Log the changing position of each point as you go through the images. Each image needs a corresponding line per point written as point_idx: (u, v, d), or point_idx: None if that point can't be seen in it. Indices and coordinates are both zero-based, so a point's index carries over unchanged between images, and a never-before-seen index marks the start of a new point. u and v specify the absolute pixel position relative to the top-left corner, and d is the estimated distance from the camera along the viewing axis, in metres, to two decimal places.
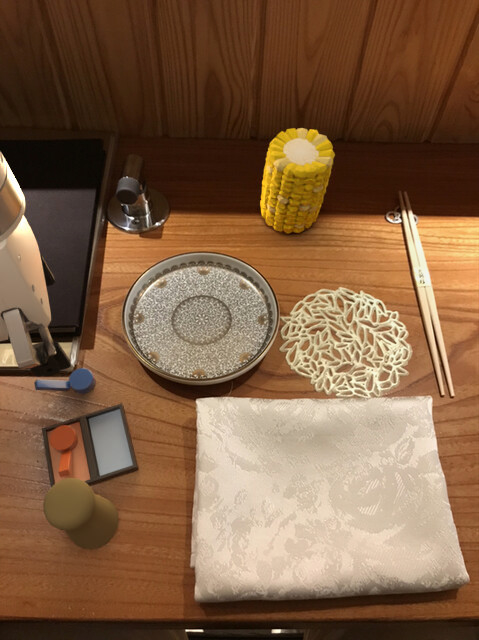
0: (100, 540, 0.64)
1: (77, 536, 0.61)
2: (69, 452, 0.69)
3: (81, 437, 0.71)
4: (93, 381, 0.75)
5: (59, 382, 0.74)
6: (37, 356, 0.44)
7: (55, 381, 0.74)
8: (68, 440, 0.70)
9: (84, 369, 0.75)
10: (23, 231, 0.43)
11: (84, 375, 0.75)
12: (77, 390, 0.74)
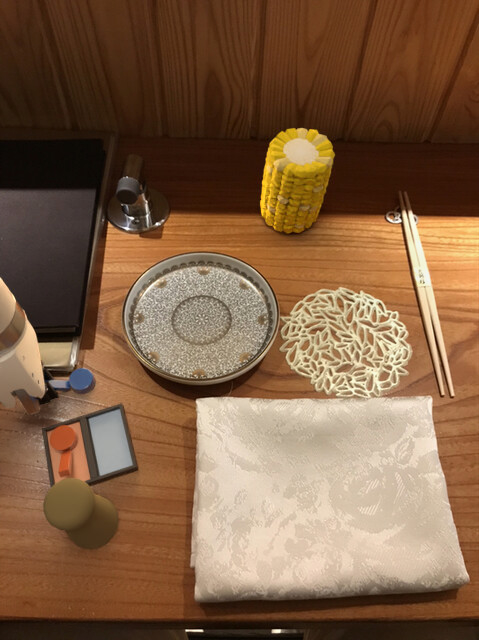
0: (100, 540, 0.64)
1: (77, 536, 0.61)
2: (69, 452, 0.69)
3: (81, 437, 0.71)
4: (93, 381, 0.75)
5: (59, 382, 0.74)
6: (37, 400, 0.67)
7: (55, 381, 0.74)
8: (68, 440, 0.70)
9: (84, 369, 0.75)
10: (26, 335, 0.63)
11: (84, 375, 0.75)
12: (77, 390, 0.74)
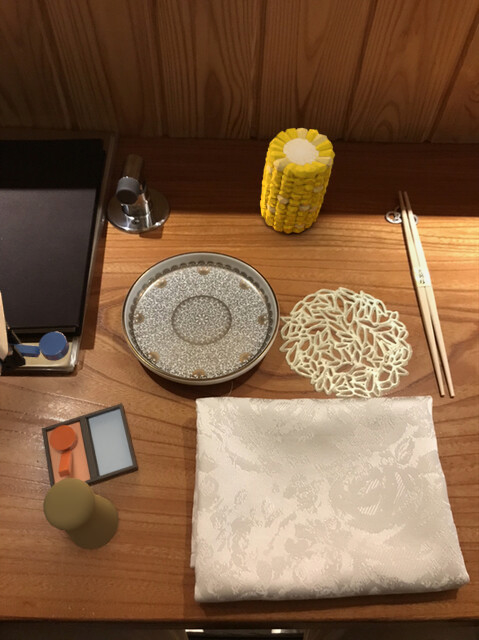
0: (100, 540, 0.64)
1: (77, 536, 0.61)
2: (69, 452, 0.69)
3: (81, 437, 0.71)
4: (66, 346, 0.66)
5: (27, 347, 0.65)
6: None
7: (23, 345, 0.65)
8: (68, 440, 0.70)
9: (56, 333, 0.66)
10: None
11: (56, 339, 0.66)
12: (48, 356, 0.65)
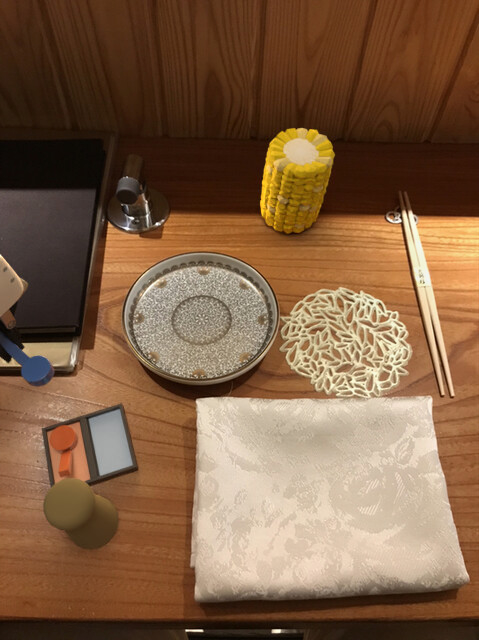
0: (100, 540, 0.64)
1: (77, 536, 0.61)
2: (69, 452, 0.69)
3: (81, 437, 0.71)
4: (42, 382, 0.61)
5: (19, 352, 0.62)
6: None
7: (16, 348, 0.62)
8: (68, 440, 0.70)
9: (48, 363, 0.61)
10: None
11: (41, 368, 0.61)
12: None
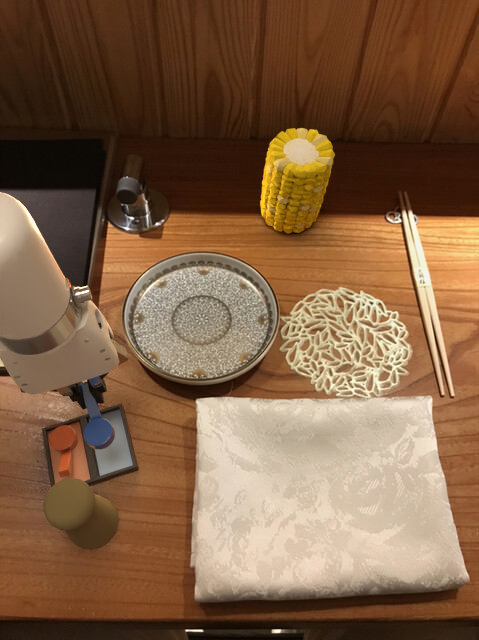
0: (100, 540, 0.64)
1: (77, 536, 0.61)
2: (69, 452, 0.69)
3: (81, 437, 0.71)
4: (95, 447, 0.62)
5: (94, 408, 0.63)
6: None
7: (94, 403, 0.63)
8: (68, 440, 0.70)
9: (109, 434, 0.62)
10: (56, 359, 0.52)
11: (101, 435, 0.62)
12: None
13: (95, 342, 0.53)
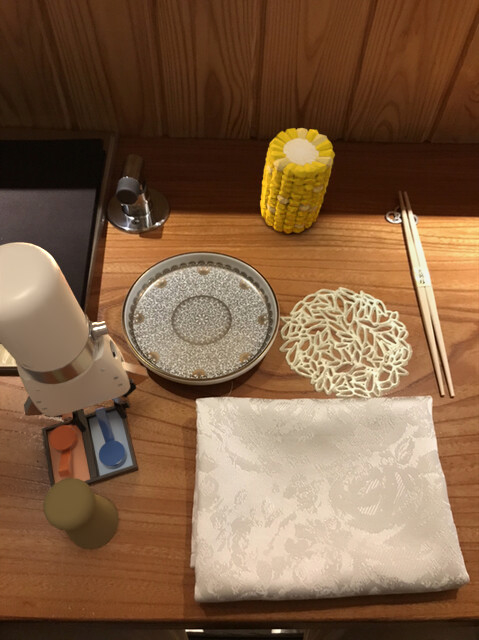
0: (100, 540, 0.64)
1: (77, 536, 0.61)
2: (69, 452, 0.69)
3: (81, 437, 0.71)
4: (109, 467, 0.68)
5: (108, 431, 0.70)
6: (40, 412, 0.64)
7: (108, 427, 0.70)
8: (68, 440, 0.70)
9: (122, 455, 0.68)
10: (74, 386, 0.57)
11: (115, 456, 0.68)
12: None
13: (110, 371, 0.58)
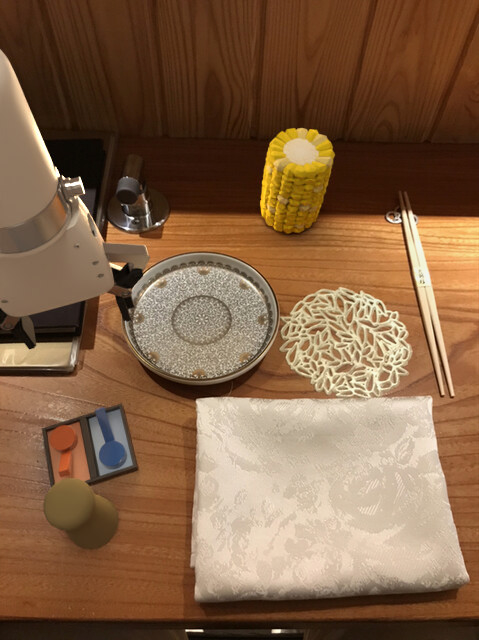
0: (100, 540, 0.64)
1: (77, 536, 0.61)
2: (69, 452, 0.69)
3: (81, 437, 0.71)
4: (110, 467, 0.68)
5: (108, 431, 0.70)
6: None
7: (108, 427, 0.70)
8: (68, 440, 0.70)
9: (122, 455, 0.68)
10: (41, 267, 0.45)
11: (115, 456, 0.68)
12: None
13: (87, 250, 0.46)
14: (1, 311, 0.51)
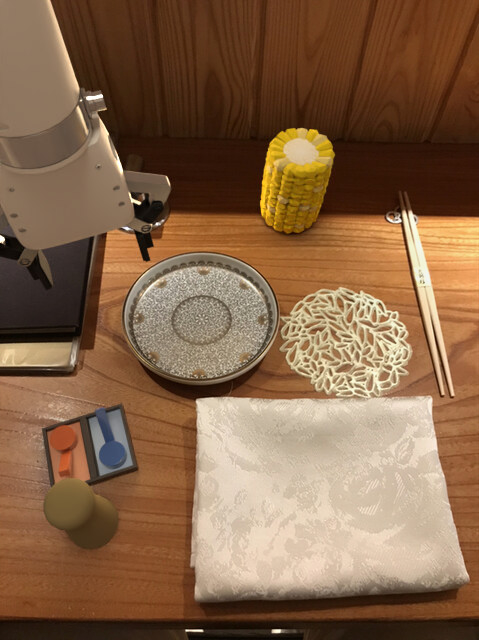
0: (100, 540, 0.64)
1: (77, 536, 0.61)
2: (69, 452, 0.69)
3: (81, 437, 0.71)
4: (110, 467, 0.68)
5: (108, 431, 0.70)
6: None
7: (108, 427, 0.70)
8: (68, 440, 0.70)
9: (122, 455, 0.68)
10: (61, 190, 0.43)
11: (115, 456, 0.68)
12: None
13: (108, 173, 0.44)
14: (18, 246, 0.50)
